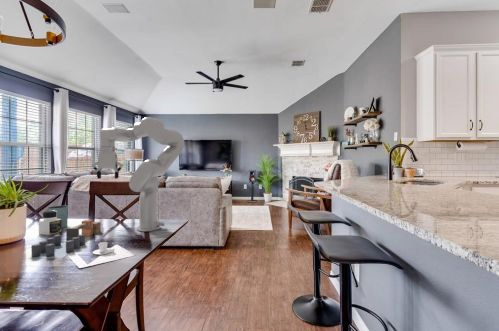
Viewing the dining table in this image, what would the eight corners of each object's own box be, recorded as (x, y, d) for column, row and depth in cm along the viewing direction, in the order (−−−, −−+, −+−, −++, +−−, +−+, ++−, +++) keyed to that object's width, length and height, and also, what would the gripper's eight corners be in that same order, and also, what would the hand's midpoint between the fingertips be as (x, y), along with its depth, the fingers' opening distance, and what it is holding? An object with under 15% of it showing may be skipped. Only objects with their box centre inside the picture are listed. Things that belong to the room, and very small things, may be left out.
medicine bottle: (49, 235, 140) (49, 212, 140) (38, 234, 142) (38, 211, 141) (61, 231, 147) (61, 209, 147) (51, 231, 149) (50, 209, 148)
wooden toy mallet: (90, 231, 147) (90, 217, 147) (100, 231, 147) (100, 217, 147) (65, 243, 125) (65, 226, 125) (78, 243, 125) (78, 226, 125)
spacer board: (88, 243, 127) (88, 233, 127) (62, 259, 107) (62, 246, 107) (58, 244, 126) (58, 233, 126) (26, 259, 106) (26, 247, 106)
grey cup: (64, 228, 154) (64, 207, 153) (43, 230, 151) (43, 208, 150) (70, 224, 163) (70, 204, 163) (51, 225, 160) (51, 205, 160)
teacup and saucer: (117, 253, 113) (117, 243, 113) (96, 257, 108) (96, 247, 108) (110, 248, 120) (110, 239, 120) (90, 252, 114) (90, 242, 114)
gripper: (125, 150, 164) (125, 178, 164) (95, 149, 162) (95, 178, 163) (120, 149, 157) (120, 178, 157) (89, 149, 155) (89, 179, 155)
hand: (107, 178), depth 160 cm, fingers open, 9 cm apart
